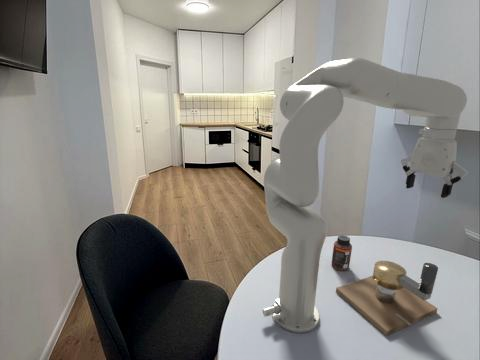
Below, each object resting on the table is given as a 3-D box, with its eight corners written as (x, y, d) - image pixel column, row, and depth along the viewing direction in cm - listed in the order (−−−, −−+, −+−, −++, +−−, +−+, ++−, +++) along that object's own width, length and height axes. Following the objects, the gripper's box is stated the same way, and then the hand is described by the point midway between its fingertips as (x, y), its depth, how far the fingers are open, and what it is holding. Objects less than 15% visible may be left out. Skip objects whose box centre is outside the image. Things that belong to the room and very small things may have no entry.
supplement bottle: (350, 272, 96) (354, 243, 93) (332, 270, 97) (335, 241, 94) (347, 262, 102) (351, 234, 99) (330, 260, 103) (333, 232, 100)
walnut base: (389, 339, 70) (390, 333, 69) (335, 291, 87) (336, 287, 86) (440, 315, 78) (441, 310, 77) (382, 276, 94) (382, 271, 94)
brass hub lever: (363, 277, 82) (369, 243, 79) (388, 268, 86) (394, 236, 83) (414, 313, 68) (423, 274, 65) (440, 301, 72) (450, 264, 69)
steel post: (385, 305, 79) (389, 289, 77) (371, 294, 83) (374, 278, 82) (398, 300, 81) (401, 284, 79) (383, 290, 85) (386, 274, 84)
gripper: (400, 132, 84) (391, 186, 89) (470, 139, 70) (454, 203, 75) (413, 130, 88) (403, 182, 93) (481, 137, 74) (465, 198, 79)
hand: (426, 192), depth 84 cm, fingers open, 9 cm apart
